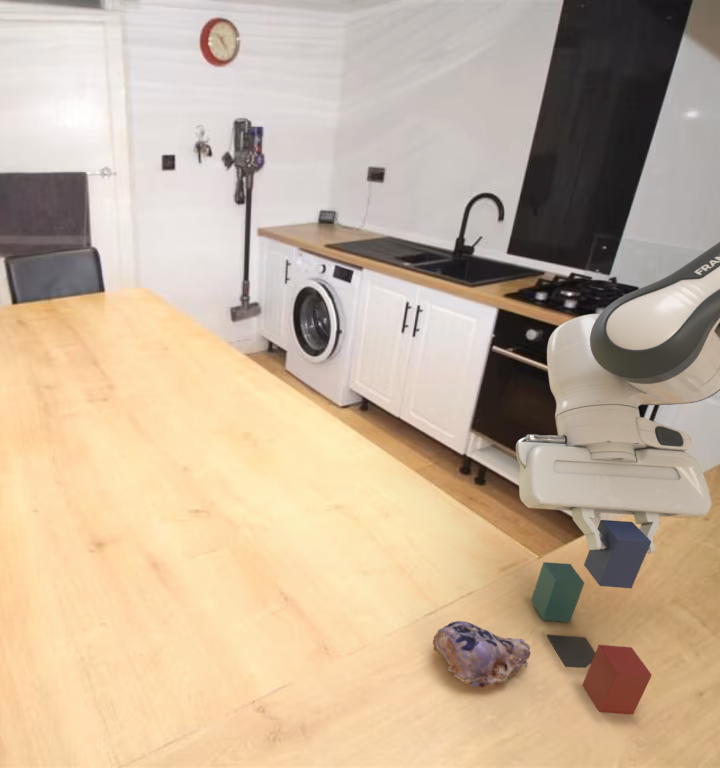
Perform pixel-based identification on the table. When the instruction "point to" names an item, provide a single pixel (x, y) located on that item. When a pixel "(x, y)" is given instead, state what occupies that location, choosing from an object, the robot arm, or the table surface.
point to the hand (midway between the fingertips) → (621, 551)
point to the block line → (608, 664)
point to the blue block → (618, 554)
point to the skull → (479, 653)
